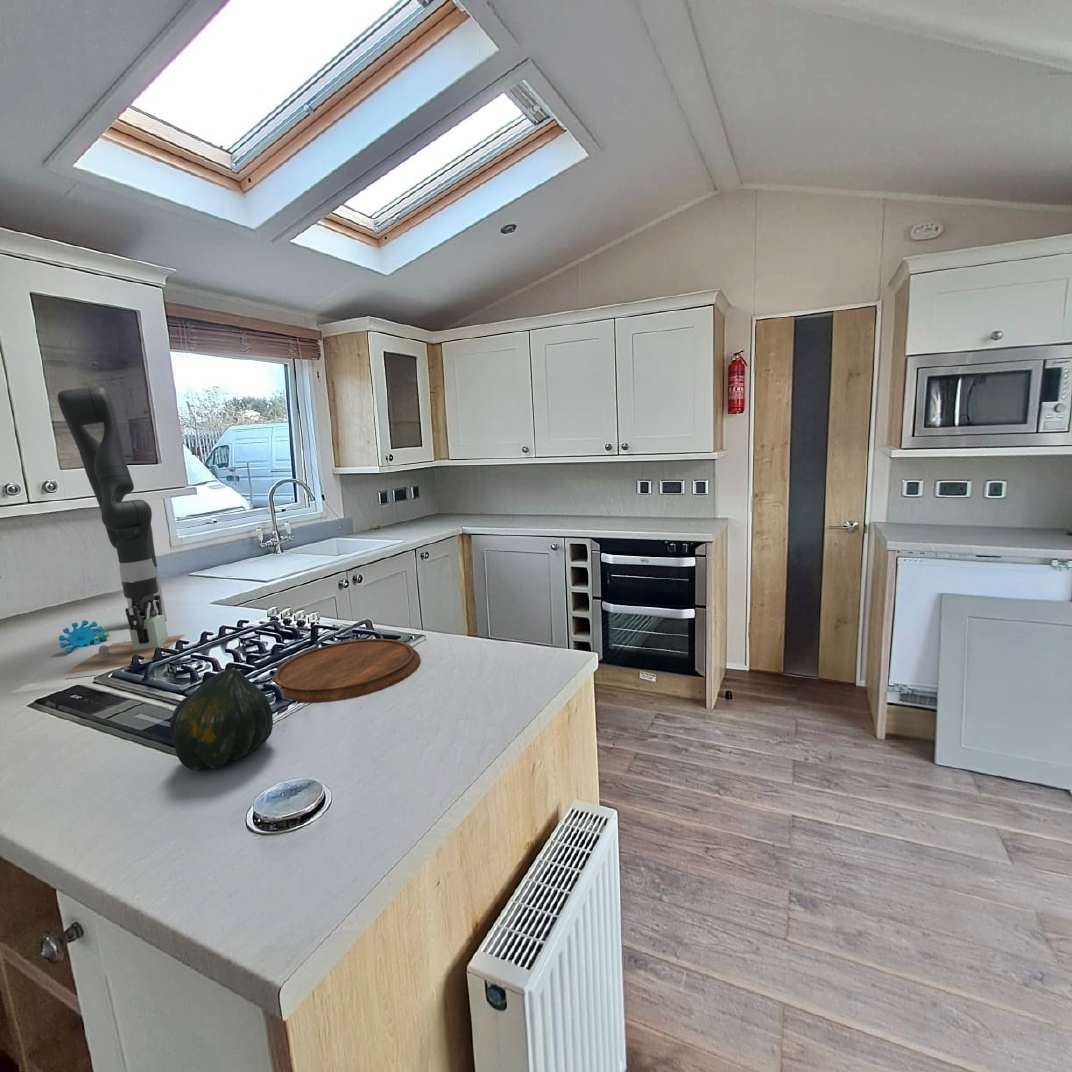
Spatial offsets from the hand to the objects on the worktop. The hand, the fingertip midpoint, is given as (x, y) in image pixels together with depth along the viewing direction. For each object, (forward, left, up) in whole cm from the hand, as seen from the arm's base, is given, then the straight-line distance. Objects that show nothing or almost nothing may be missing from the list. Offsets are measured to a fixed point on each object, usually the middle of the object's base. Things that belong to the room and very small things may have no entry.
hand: (150, 638), depth 155 cm
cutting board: (+35, +55, -4) cm, 65 cm away
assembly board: (+5, -3, -3) cm, 7 cm away
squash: (+67, +40, -3) cm, 78 cm away
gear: (-8, -20, -3) cm, 22 cm away
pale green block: (0, 0, -2) cm, 2 cm away
